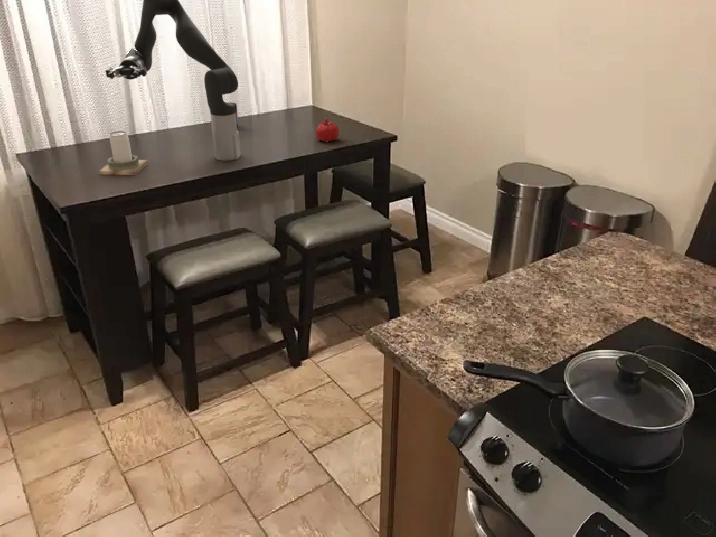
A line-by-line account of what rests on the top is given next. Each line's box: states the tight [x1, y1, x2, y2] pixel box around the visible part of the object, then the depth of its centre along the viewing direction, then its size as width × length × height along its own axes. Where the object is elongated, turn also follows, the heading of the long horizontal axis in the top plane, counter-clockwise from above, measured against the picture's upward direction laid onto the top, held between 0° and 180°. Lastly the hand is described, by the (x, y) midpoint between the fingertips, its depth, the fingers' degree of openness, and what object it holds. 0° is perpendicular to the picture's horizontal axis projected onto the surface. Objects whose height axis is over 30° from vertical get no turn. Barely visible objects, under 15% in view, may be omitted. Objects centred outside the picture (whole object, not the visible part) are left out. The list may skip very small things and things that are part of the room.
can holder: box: [99, 154, 149, 176], centre depth 225 cm, size 13×13×4 cm
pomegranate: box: [315, 118, 340, 142], centre depth 256 cm, size 10×10×9 cm
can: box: [109, 130, 133, 163], centre depth 223 cm, size 6×6×12 cm
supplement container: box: [228, 101, 239, 128], centre depth 272 cm, size 7×7×10 cm
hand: (122, 75), depth 227 cm, fingers open, 8 cm apart
